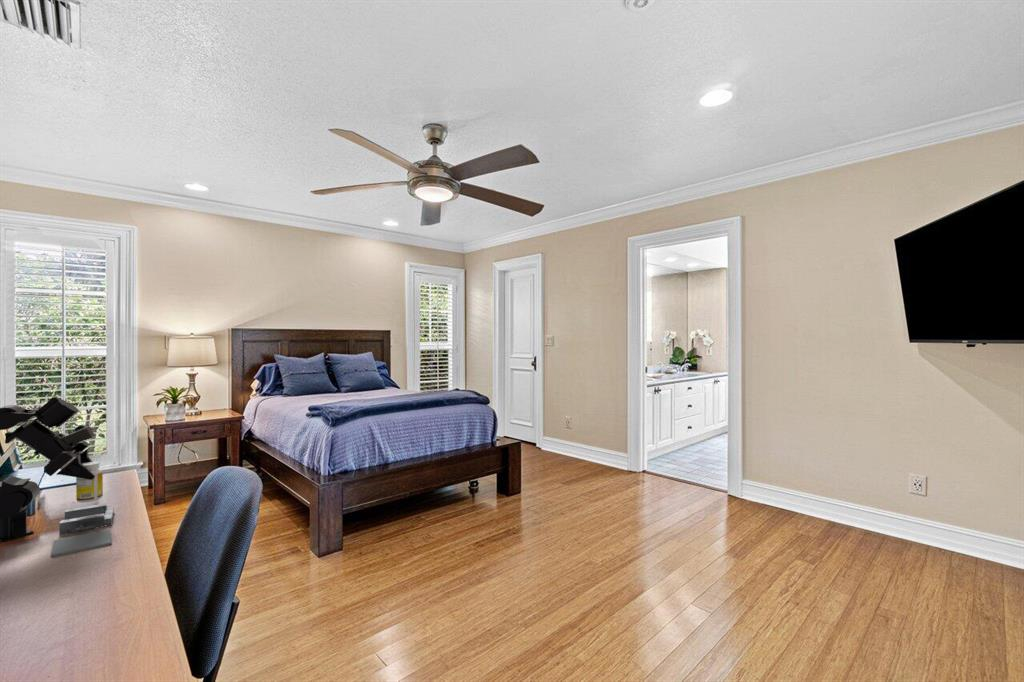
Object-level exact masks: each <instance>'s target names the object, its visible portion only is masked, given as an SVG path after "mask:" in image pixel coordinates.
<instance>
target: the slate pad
mask: <svg viewBox="0 0 1024 682" xmlns="http://www.w3.org/2000/svg"><path fill="white" fill-rule="evenodd" d="M110 544H111V545H112V536H111V529H104V530H98V531H94V532H89V533H84V534H79V535H74V536H69V537H63V538H60V539H55V540H53V541H52V549H51V554H50V558H55V557H60V556H65V555H69V554H74V553H75V554H76V553H79V552H83V551H84V552H85V551H89V550H93V549H97V548H102V546H103V547H106V545H107V546H111V545H110Z"/></svg>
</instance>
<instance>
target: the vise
mask: <svg viewBox="0 0 1024 682" xmlns="http://www.w3.org/2000/svg"><path fill="white" fill-rule="evenodd" d="M114 507H115V506H114V505H108V503H106V502H105V503H100V504H94V505H87V506H79V507H74V508H69V509H65V511H64V519H63V520H60V521H59V524H58V525H59V526H58V527H59V528H58V529H59V535H64V534H65V535H66V534H67V535H70V534H76V533H81V532H87V531H91V530H92V531H93V530H95V529H97V528H96V527H99V528H102V527H101V526H105V525H110V526H112V525H111V524H113V519H114V514H115V513H114V512H115V508H114ZM113 513H114V514H113ZM104 515H105V516H104ZM112 518H113V519H112ZM105 527H106V526H105Z"/></svg>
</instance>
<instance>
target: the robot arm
mask: <svg viewBox="0 0 1024 682" xmlns="http://www.w3.org/2000/svg"><path fill="white" fill-rule="evenodd" d="M77 413H79V409H78V408H77V407H76V405H74V404H72V403H71V402H70V401H67V400H64V399H63V398H59V397H58V396H56V395H55V396H52V397H51V398H50V399H48V401H47V402H45V404H43V405H42V406H41V407H40V408H38V409H35V408H34V409H33V408H32V409H29V408H25V409H24V408H23V407H22V406H19V405H17V404H9V405H4V406H2V407H0V431H3V430H4V431H5V430H9V429H12V428H13V427H17V428H16V429H15V430H13V431H8V432H5V433H4V436H5V439H4V443H5V444H9V443H11V442H13V441H15V440H16V439H17V440H18V441H20V443H23V444H24V445H26V446H27V447H29V448H30V449H32V450H33V454H34V455H36V456H38V455H41V456H42V457H44V458H45V459H47V460H49V461H48V462H47V464H46V465H45V466H44V467H43V473H44V474H46V475H48V476H50V477H52V476H53V475H54V474H56V476H59V475H60V476H67V477H74V478H76V477H78V478H84V479H89V480H92V479H93V478H94V477H95V476H94V475H93V474H92V473H91V472H90V471H89V470H88V469H87V468H86V467H85V466H84V465H83V463H87V462H93V460H92V459H91V457H89V451H90V447H89V446H90V445H91V444H90V443H89V442H88V441H87V440H90V439H92V438H93V437H94V436H96V434H95V432H93V428H92V427H90V425H84V424H81V425H78V426H76V427H74V431H73V432H71V433H69V434H66V435H65V434H63V433H62V432H61V433H60V432H58V433H56V432H55V431H53V430H52V428H53V427H54V428H60V427H62V426H63V425H64V424H65V423H67V422H68V421H70V419H72V417H74V416H75V415H76V414H77ZM34 418H35V419H34ZM32 419H34V420H32ZM29 420H32V421H31V422H30V423H23V422H28V421H29ZM20 424H21V425H20ZM18 425H19V426H18ZM56 472H57V473H56ZM40 492H41V490H40V486H39V484H38V483H37V482H35V481H33V480H32V481H31V478H29V477H28V478H21V477H17V476H12V475H11V476H9V477H7V478H6V479H5V480H2V481H0V542H7V541H10V540H13V539H18V538H19V537H23V536H26V535H30V534H34V533H35V532H34V530H32V529H28V527H27V525H28V524H27V523H28V522H27V520H28V519H27V515H28V511H27V508H28V507H29V506H30V504H31V503H32V502H33V501H34V500H36V498H38V496H39V495H40Z"/></svg>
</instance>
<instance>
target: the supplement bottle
mask: <svg viewBox="0 0 1024 682" xmlns="http://www.w3.org/2000/svg"><path fill="white" fill-rule="evenodd" d="M83 465H84V466H85V467H86V468H87V469H88V470H89V471H90V472H91V473H92V474H93V475H94V476H95V477H94V478H93V479H92V480H89V479H84V478H78V477H75V479H76V480H75V485H76V492H75V493H76V496H75V497H76V498H75V499H76V501H77V502H78V503H91V502H95V501H99V500H101V499H102V498H103V494H104V493H103V492H104V491H103V489H104V487H103V486H104V483H103V481H104V480H103V478H104V477H103V475H104V473H103V469H102V468H100V462H99V461H92V462H87V463H83Z"/></svg>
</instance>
